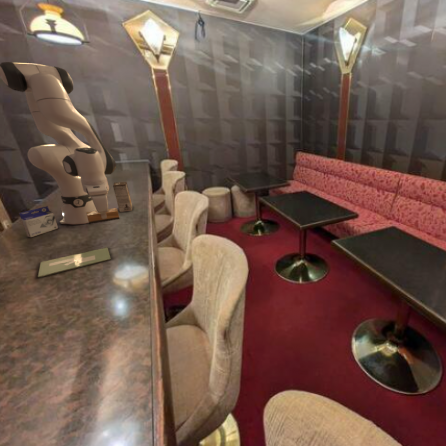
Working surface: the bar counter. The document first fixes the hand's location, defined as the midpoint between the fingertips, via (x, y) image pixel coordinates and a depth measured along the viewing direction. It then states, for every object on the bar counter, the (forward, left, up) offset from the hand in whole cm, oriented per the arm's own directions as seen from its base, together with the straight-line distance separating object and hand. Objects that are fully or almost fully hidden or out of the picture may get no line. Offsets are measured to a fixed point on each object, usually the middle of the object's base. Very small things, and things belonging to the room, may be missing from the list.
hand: (103, 216), depth 112 cm
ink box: (-20, -23, -10) cm, 32 cm away
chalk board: (+22, -12, -10) cm, 26 cm away
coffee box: (-38, +12, -10) cm, 41 cm away
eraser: (0, 0, -2) cm, 2 cm away
